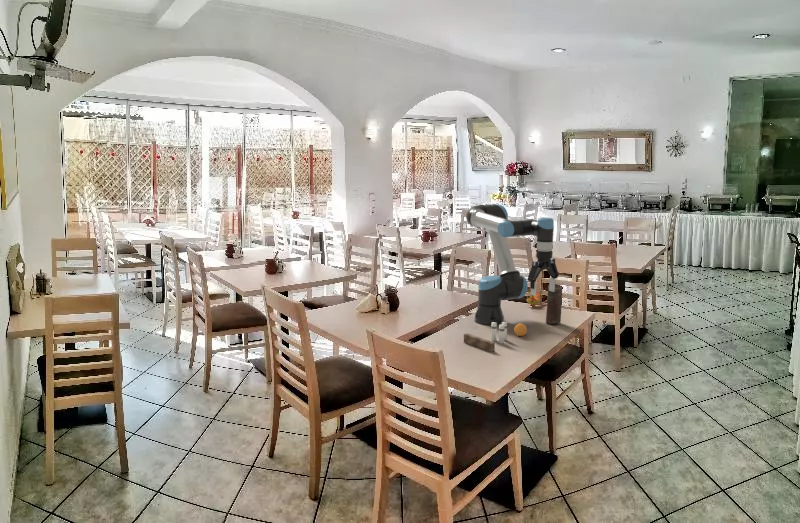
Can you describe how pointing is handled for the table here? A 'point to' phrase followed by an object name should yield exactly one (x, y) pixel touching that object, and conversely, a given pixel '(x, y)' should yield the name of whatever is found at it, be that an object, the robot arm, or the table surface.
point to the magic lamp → (533, 299)
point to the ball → (520, 329)
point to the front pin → (505, 330)
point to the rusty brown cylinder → (554, 305)
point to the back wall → (479, 342)
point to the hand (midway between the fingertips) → (542, 293)
